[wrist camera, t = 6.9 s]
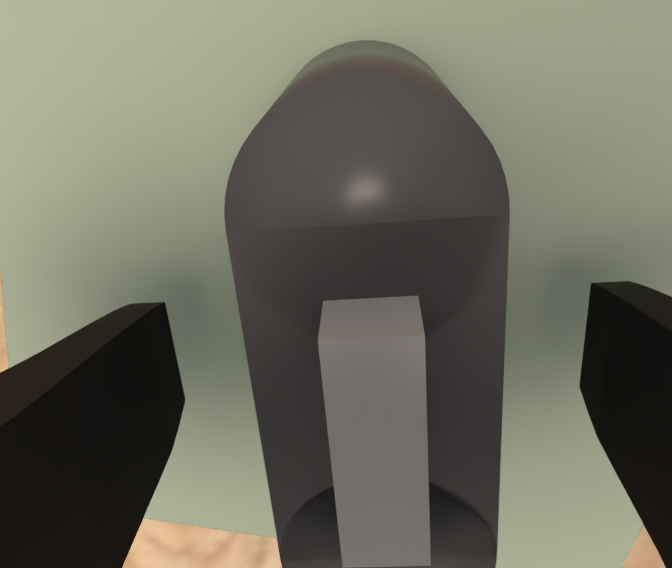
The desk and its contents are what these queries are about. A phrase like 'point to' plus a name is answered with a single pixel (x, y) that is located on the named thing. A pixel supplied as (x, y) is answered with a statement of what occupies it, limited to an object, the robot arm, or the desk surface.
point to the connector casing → (374, 313)
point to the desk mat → (209, 224)
